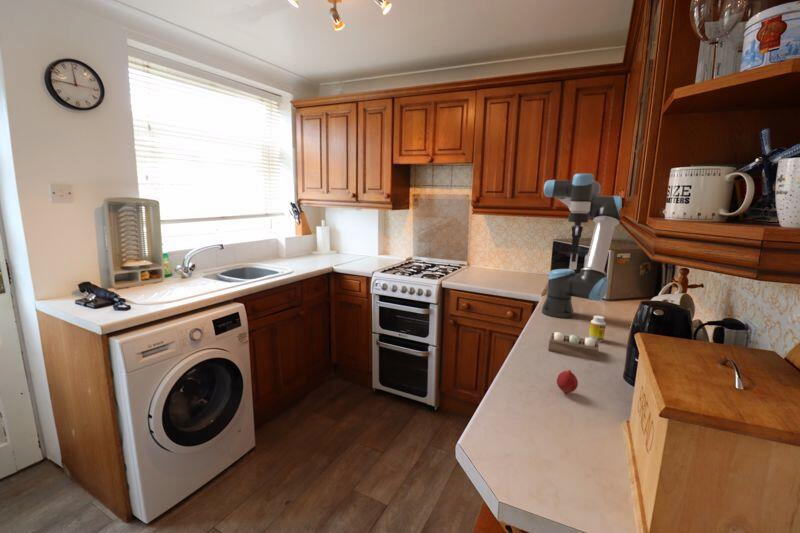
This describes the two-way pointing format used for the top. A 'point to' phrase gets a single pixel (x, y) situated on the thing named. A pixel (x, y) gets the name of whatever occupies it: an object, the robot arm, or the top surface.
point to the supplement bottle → (597, 328)
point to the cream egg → (559, 336)
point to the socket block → (574, 348)
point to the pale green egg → (574, 339)
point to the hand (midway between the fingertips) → (572, 268)
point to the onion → (567, 381)
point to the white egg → (590, 341)
